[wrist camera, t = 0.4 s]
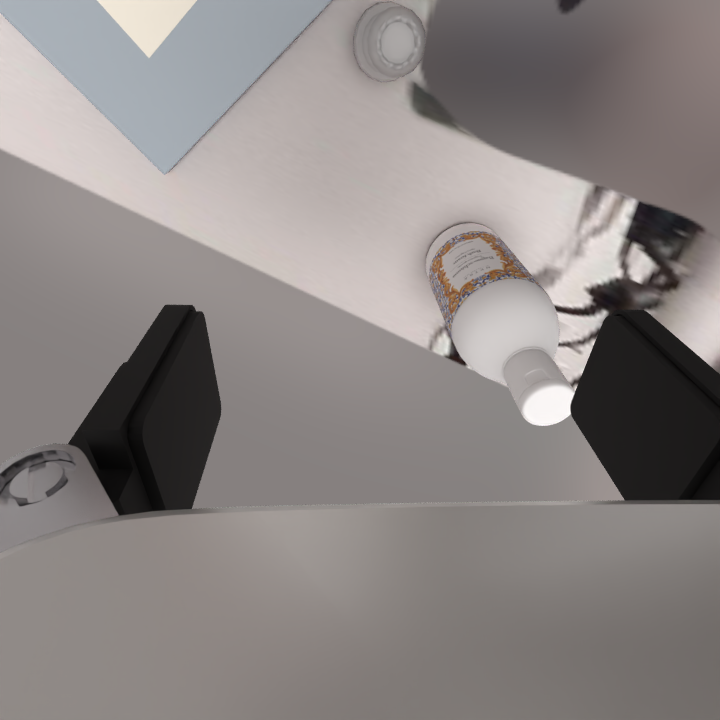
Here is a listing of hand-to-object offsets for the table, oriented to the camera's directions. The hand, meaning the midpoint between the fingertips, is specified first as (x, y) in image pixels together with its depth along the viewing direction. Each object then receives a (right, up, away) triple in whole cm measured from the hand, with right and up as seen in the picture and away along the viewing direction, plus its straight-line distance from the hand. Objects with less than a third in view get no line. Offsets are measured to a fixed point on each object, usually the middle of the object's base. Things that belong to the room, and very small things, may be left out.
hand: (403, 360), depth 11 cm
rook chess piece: (+1, +22, +20) cm, 30 cm away
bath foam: (+8, +9, +30) cm, 32 cm away
